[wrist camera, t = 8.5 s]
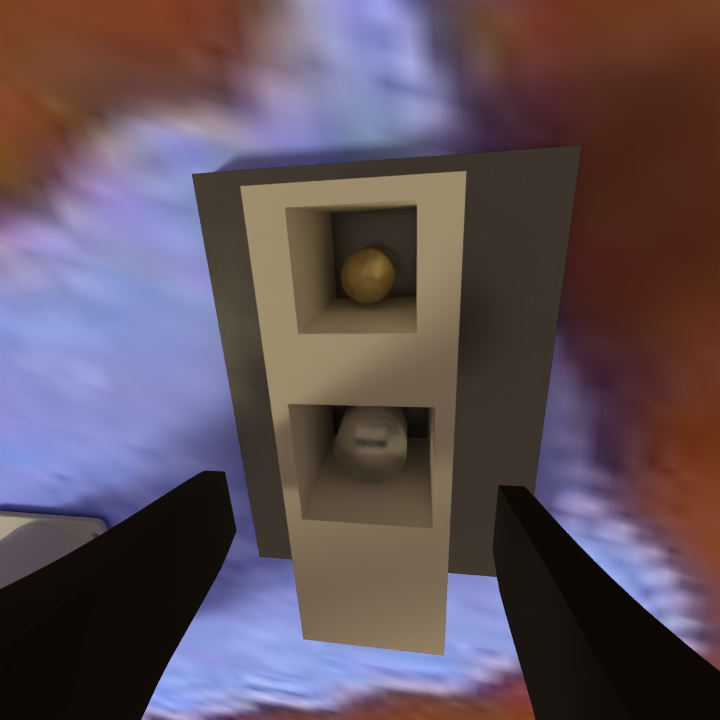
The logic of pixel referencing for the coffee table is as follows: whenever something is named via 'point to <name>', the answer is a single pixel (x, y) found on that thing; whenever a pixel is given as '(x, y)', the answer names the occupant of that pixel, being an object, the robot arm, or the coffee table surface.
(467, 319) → the flange base
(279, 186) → the block with holes
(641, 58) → the coffee table surface
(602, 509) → the coffee table surface
